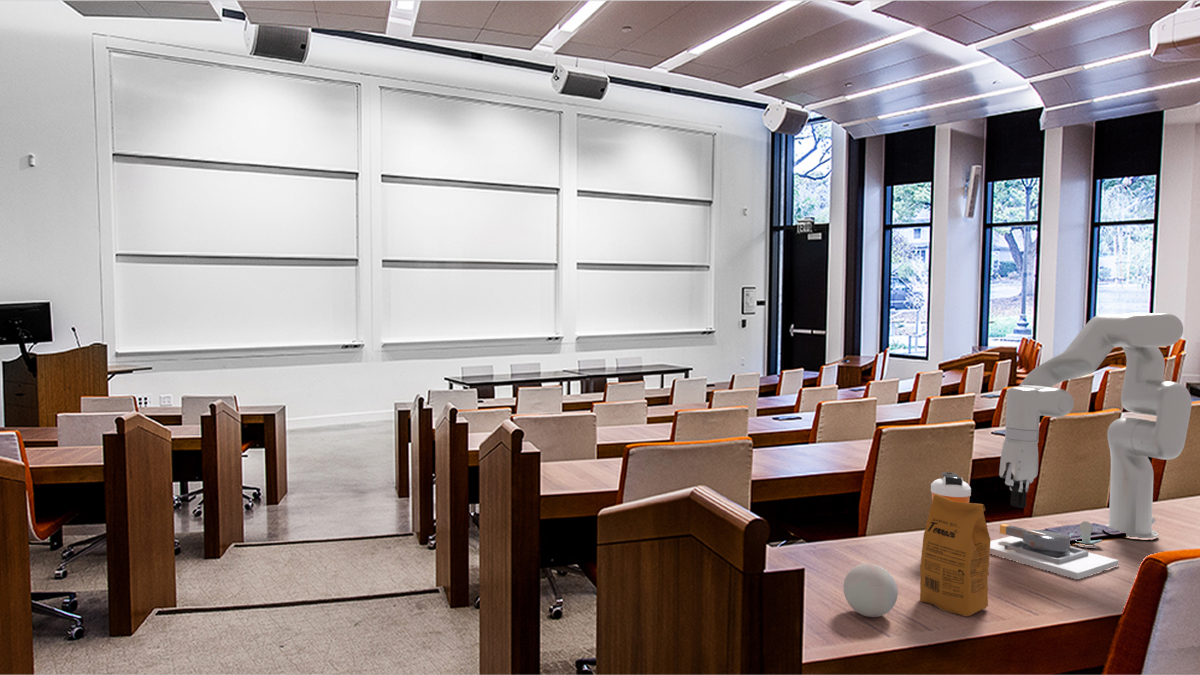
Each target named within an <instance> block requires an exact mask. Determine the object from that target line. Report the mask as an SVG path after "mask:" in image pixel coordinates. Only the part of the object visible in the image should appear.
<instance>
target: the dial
mask: <svg viewBox="0 0 1200 675" xmlns="http://www.w3.org/2000/svg"><path fill="white" fill-rule="evenodd" d="M999 534H1002V535H1006V536H1013V537H1017V538H1021V539H1023V548H1022V549H1025V550H1029V551H1032V552H1036V553H1040V554H1043V555H1047V556H1051V557H1054V558H1060V557H1064V556H1067V555H1070V547H1071V544H1070V541H1071V537H1070V536H1069V535H1066V534H1063V533H1060V532H1056V531H1051V530H1043V529H1025V528H1021V527H1019V526H1018V527H1017V526H1014V525H1011V524H1007V523H1003V524H999Z"/></svg>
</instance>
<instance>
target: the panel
mask: <svg viewBox="0 0 1200 675" xmlns="http://www.w3.org/2000/svg"><path fill="white" fill-rule="evenodd" d="M1022 548H1023V539H1021V538H1017V537H1013V536H1010V535H1008V536H1007V537H1001V538H998V539H992V540H990V551H989V555H990V554H992V555H991V556H994V555H996V556H995V557H997V556H1000V557H999V558H1001V557H1004V558H1007V559H1011V560H1014V561H1018V562H1020V563H1019V564H1021V563H1023V564H1022V565H1024V564H1027V565H1026V566H1028V565H1030V566H1029V567H1031V566H1033V567H1032V568H1035V567H1037V568H1036V569H1038V568H1040V569H1039V570H1041V569H1044V570H1043V571H1045V570H1047V571H1046V572H1048V571H1051V572H1050V573H1052V572H1054V573H1053V574H1055V573H1057V574H1056V575H1059V574H1061V575H1060V576H1062V575H1065V576H1068V577H1067V578H1069V577H1071V578H1070V579H1072V578H1075V579H1074V580H1076V579H1080V578H1083V577H1086V576H1089V575H1091V574H1094V573H1097V572H1100V571H1103V570H1105V569H1108V568H1111V567H1114V566H1117V565H1118V566H1119V563H1120V562H1119V559H1115V558H1111V557H1108V556H1104V555H1100V554H1096V553H1092V552H1089V550H1085V549H1083V548H1079V547H1078V548H1077V547H1075V546H1070V555H1067V556H1064V557H1060V558H1054V557H1051V556H1047V555H1043V554H1040V553H1036V552H1032V551H1029V550H1025V549H1022ZM1004 558H1003V559H1004ZM1007 559H1006V560H1007ZM1011 560H1010V561H1011ZM1014 561H1013V562H1014ZM1018 562H1017V563H1018ZM1065 576H1064V577H1065ZM1089 577H1090V576H1089ZM1086 578H1087V577H1086ZM1083 579H1084V578H1083ZM1080 580H1081V579H1080Z"/></svg>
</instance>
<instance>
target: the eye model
mask: <svg viewBox="0 0 1200 675" xmlns="http://www.w3.org/2000/svg"><path fill="white" fill-rule="evenodd" d="M842 587H843V590H842V591H843V594H844V595H843V596H844V597H845V600H846V602H847V604H848V605H849V606H850V607H851V609H852V610H854V611H855V612H856V613H858V614H860V615H862V616H865V617H868V618H869V617H870V618H878V617H882V616H885V615H887V614H888V613H889V612H890V611H891V610H892V609H893V608H894V606H895V605H896V603H897V599H898V596H899V595H898V594H899V589H898V586H897V582H896V581H895V579H894V577H893V576H892V574H890V572H888V571H887V570H886V569H885V568H883V567H882V566H880V565H878V564H876V563H875V564H874V563H861V564H858V565H856V566H854V567H852V569H850V570H849V571H848V573H847V574H846V576H845V578H844V581H843V585H842Z"/></svg>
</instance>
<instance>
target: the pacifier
mask: <svg viewBox="0 0 1200 675" xmlns="http://www.w3.org/2000/svg"><path fill="white" fill-rule="evenodd" d="M1093 530H1094V527H1093V525H1092V523H1091V522H1090V521H1086V520H1085V521H1084V520H1083V521H1082V522H1081V523H1080V524H1079V531H1080V537H1081V539H1082V541H1077V540H1075V541H1076V542H1079V543H1081V544H1085V545H1093V546H1085V545H1080V544H1077V543H1075V544H1076V545H1078V546H1083V547H1089V548H1096V547H1097V545H1095V544H1099V543H1102V541H1103V539H1097V540H1095V539H1094V540H1091V534H1092V532H1093ZM1073 534H1074V533H1073V532H1071V533H1069V535H1068V536H1069V538H1071V535H1073ZM1096 549H1097V548H1096Z"/></svg>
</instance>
